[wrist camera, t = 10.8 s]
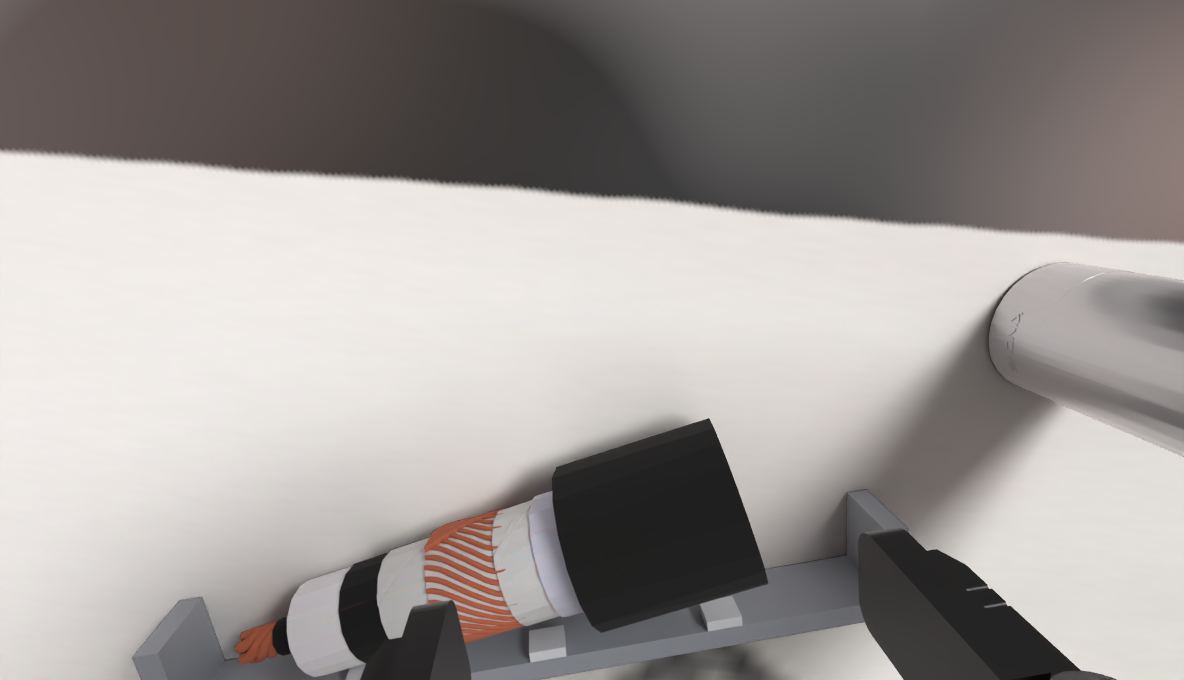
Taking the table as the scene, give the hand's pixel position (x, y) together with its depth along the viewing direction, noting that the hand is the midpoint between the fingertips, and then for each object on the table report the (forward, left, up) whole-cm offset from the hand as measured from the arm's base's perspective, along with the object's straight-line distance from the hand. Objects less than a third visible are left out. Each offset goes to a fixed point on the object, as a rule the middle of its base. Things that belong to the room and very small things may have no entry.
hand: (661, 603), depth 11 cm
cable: (+8, +16, -28) cm, 33 cm away
